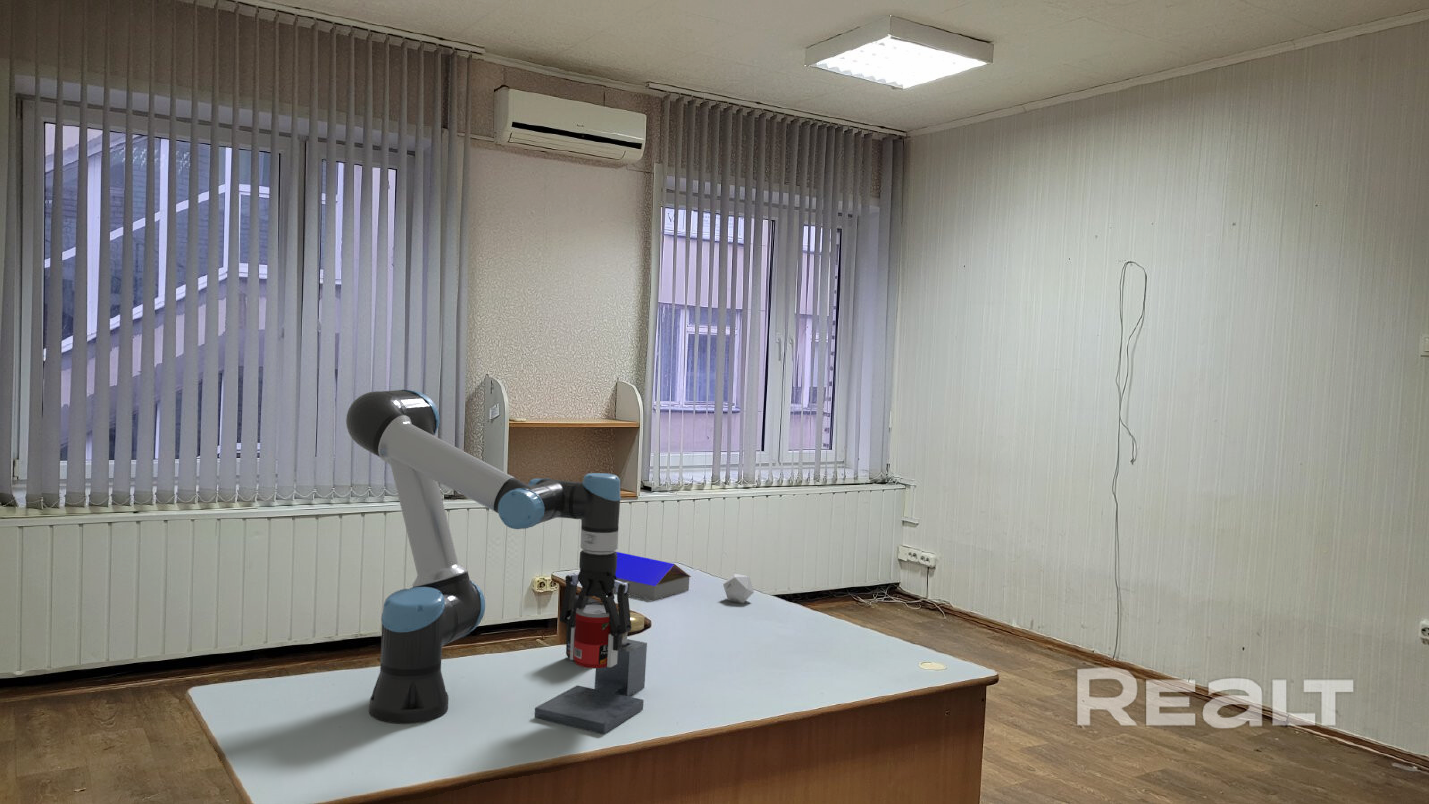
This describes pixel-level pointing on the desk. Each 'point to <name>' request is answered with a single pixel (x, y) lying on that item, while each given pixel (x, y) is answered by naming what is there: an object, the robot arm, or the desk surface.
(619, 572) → the house
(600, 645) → the canned food
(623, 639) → the door knob
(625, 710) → the grey stepped stand
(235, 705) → the desk surface
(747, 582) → the die
